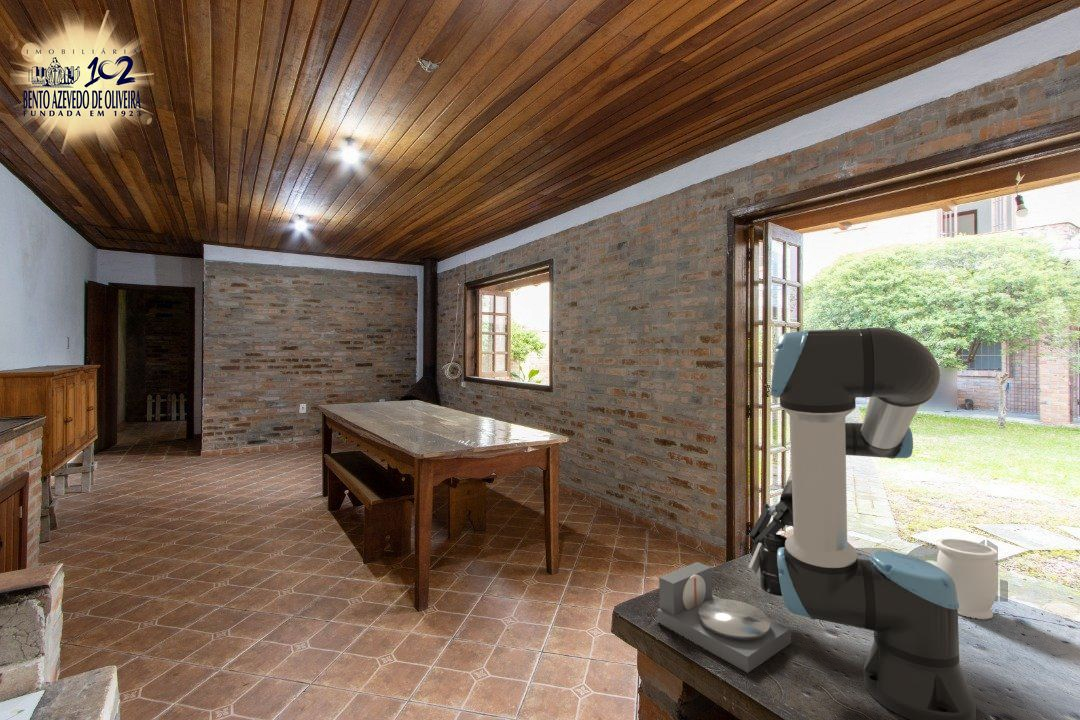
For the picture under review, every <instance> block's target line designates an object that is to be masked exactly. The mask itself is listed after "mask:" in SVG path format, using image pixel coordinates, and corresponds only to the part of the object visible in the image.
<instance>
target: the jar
mask: <svg viewBox="0 0 1080 720" xmlns="http://www.w3.org/2000/svg"><path fill="white" fill-rule="evenodd" d="M936 547H937V549H939V550H938V551H937V558H936V566H937V567H939V568H940V569H942V570H943V571H945V572H946V573H947V574H948V575H949V576H950V577H951V578H952V579H953V581H954V583H955V586H956V592H957V600H958V603H959V609H958V616H959V615H960V616H962V617H965V616H966V617H967V618H970V617H971V619H975V618H977V619H976V620H989V619H992V618H994V613H993V611H992V609H991V608H992V607H993V605H994V604H995V601H996V597H997V591H998V585H999V572H998V567H997V564H996V561H995V558H997V557H998V554H997V553H998V551H997V550H996V549H995V548H993V547H991V546H989V545H986V544H983V543H980V542H976V541H971V540H966V539H957V538H940V539H937V541H936Z"/></svg>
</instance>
